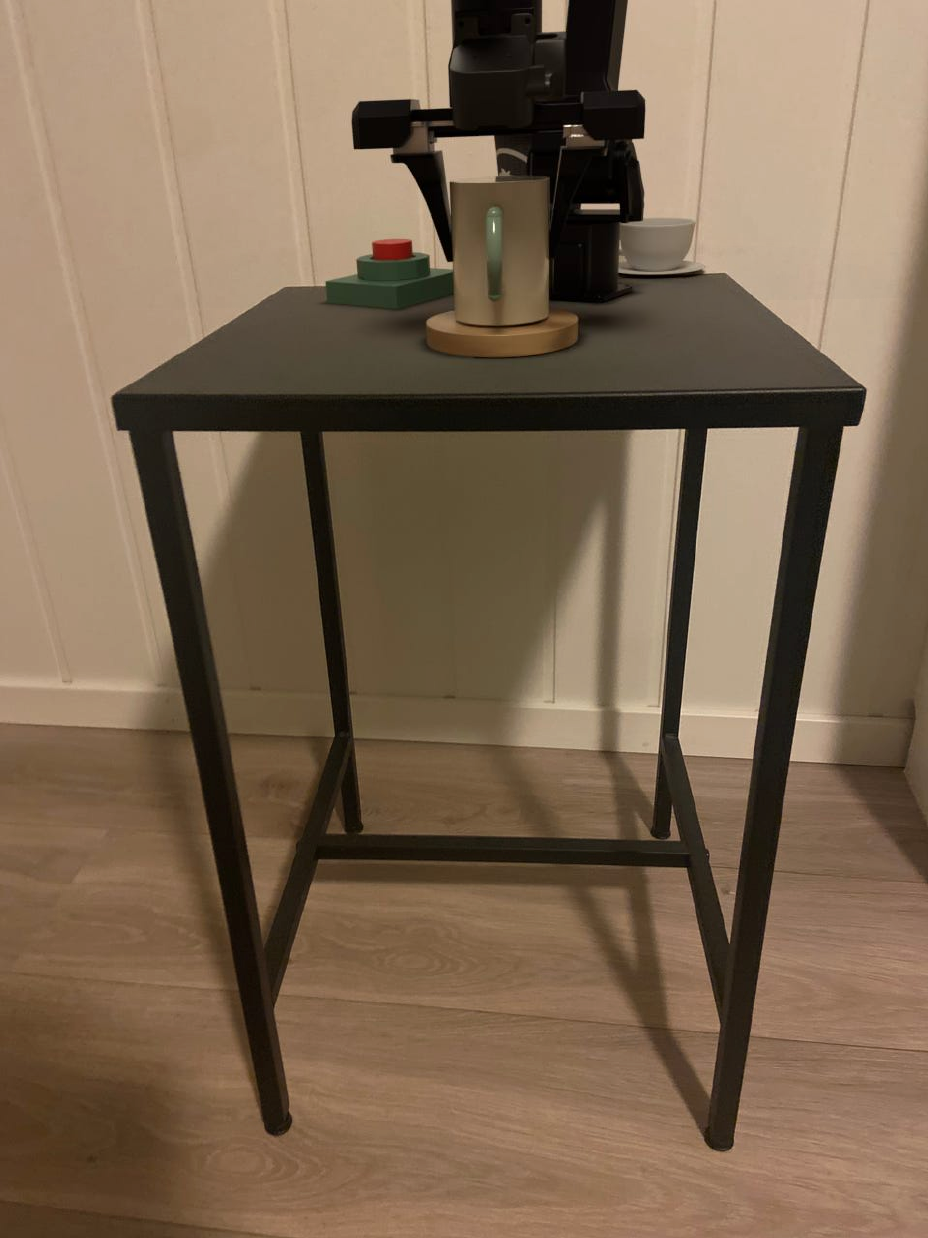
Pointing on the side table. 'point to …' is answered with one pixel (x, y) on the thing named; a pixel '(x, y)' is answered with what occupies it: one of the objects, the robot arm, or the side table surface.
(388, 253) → the button
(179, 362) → the side table surface
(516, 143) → the coffee cup
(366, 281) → the button box
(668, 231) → the teacup
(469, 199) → the jug
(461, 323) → the disc
